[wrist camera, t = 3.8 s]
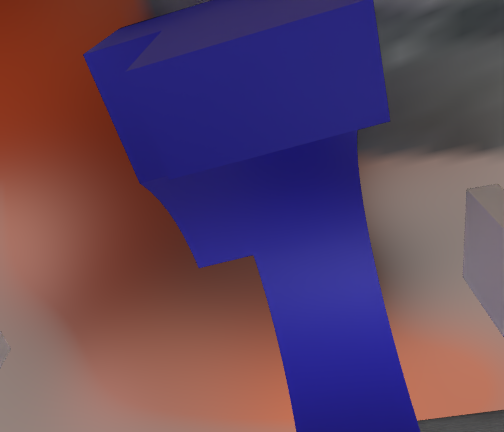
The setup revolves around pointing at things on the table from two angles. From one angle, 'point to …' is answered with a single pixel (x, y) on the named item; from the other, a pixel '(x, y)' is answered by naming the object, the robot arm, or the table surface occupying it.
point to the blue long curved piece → (272, 177)
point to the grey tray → (465, 423)
